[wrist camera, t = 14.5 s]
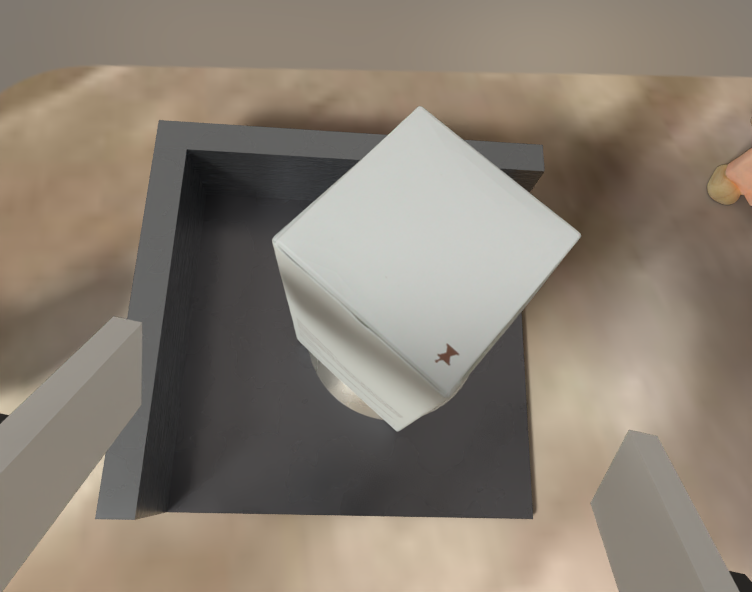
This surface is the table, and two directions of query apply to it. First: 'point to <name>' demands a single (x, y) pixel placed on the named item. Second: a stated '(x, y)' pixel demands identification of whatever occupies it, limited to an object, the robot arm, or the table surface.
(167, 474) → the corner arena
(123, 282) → the table surface
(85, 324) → the table surface
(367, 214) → the supplement box
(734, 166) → the grandmother figurine
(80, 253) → the table surface
